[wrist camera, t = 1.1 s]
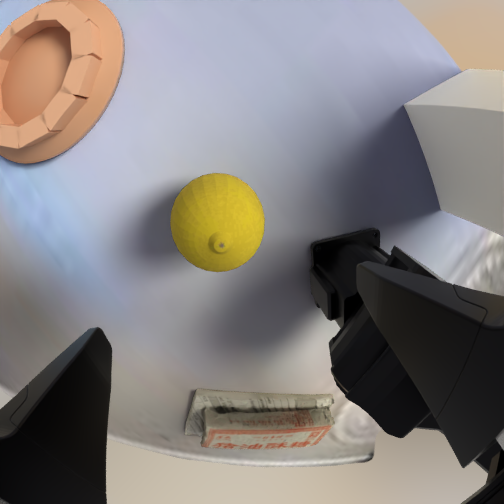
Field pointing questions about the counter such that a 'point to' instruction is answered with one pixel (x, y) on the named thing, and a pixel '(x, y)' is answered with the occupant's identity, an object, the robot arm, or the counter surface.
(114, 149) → the counter surface
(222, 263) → the lemon
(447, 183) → the milk
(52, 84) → the holder
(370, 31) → the counter surface
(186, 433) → the packaged product
